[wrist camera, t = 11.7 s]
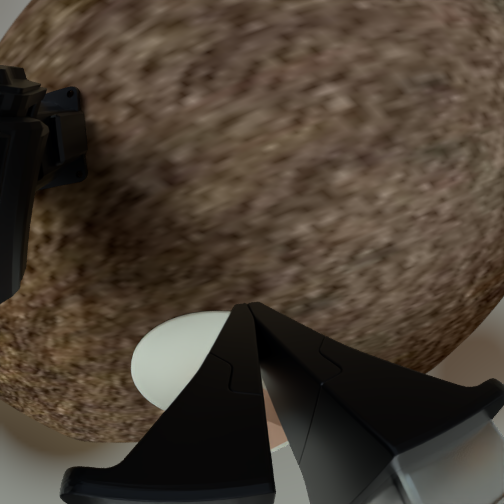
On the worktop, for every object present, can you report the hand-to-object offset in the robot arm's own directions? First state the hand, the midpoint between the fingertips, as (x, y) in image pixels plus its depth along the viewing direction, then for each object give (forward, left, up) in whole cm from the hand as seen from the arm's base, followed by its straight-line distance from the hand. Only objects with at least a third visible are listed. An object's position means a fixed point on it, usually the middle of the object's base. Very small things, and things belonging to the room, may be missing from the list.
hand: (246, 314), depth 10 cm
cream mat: (-2, -17, -12) cm, 21 cm away
